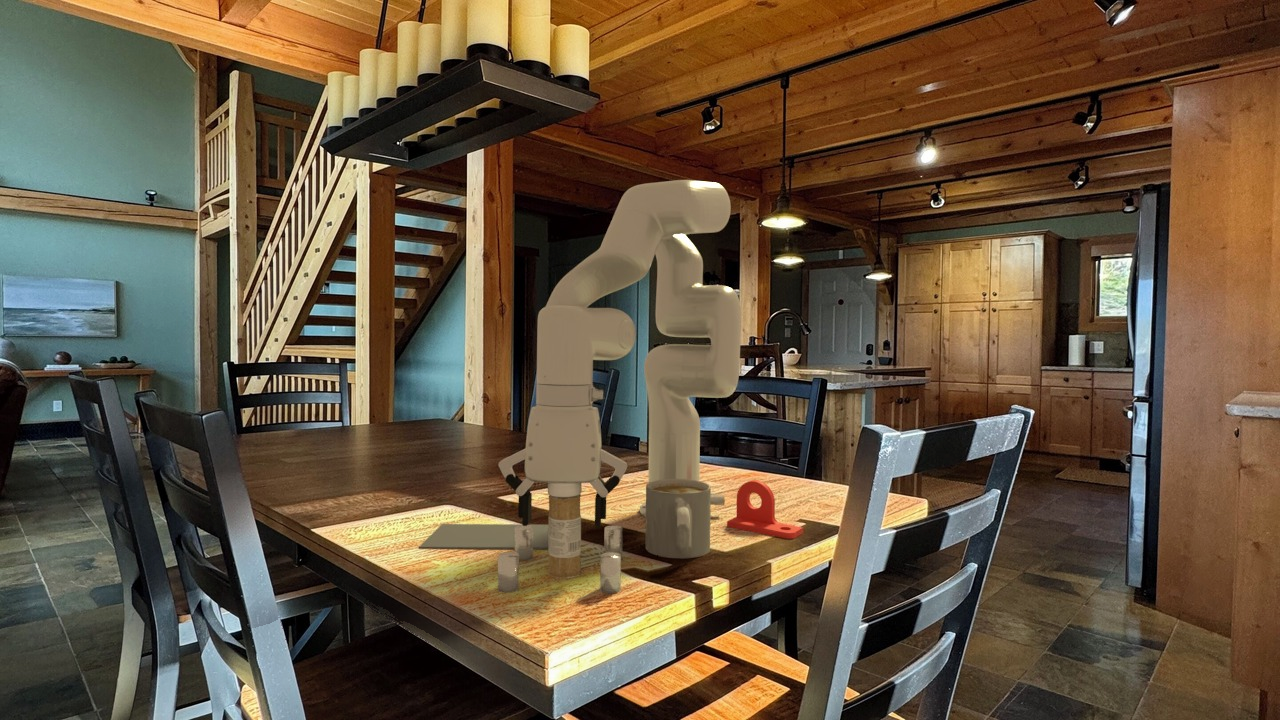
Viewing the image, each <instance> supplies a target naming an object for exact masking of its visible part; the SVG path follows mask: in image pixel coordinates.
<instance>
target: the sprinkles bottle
mask: <svg viewBox="0 0 1280 720" xmlns="http://www.w3.org/2000/svg"><path fill="white" fill-rule="evenodd" d="M547 494H548V517H547V518H548V524H547V525H548V550H547V551H548V576H549V577H551V578H554V579H572V578H576V577H578V576H580V575H581V573H582V571H581V553H582V549H581V548H582V541H581V540H582V515H581V496H582V495H581V494H582V483H547Z"/></svg>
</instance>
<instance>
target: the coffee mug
mask: <svg viewBox="0 0 1280 720" xmlns="http://www.w3.org/2000/svg"><path fill="white" fill-rule="evenodd" d="M645 485H646V487H645V503H646V517H645V550H646V551H647V552H648V553H650V554H652V555H655V556H657V555H658V557H662V558H667V559H668V558H669V559H693V558H700V557H702V556H705V555H707V554H709V552H710V551H711V507H712V506H711V493H712V492H711V490H712V489H711V488H712V487H711V485H710V484H709V483H707V482H705V481H700V480H699V481H696V480H689V479H662V480H656V481H652V482H649V481H648V482H647V484H645Z"/></svg>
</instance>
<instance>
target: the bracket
mask: <svg viewBox="0 0 1280 720" xmlns="http://www.w3.org/2000/svg"><path fill="white" fill-rule="evenodd" d="M751 494H757V495H758V496H759V498H760V501H761V502H760V503H761V505H760V506H759V507H755V506H754V505H753V504H752V503H751V500H750V498H751ZM775 499H776V498H775V494H774V493H773V491H772V489H771V488H770V487H769V485H767V484H766V483H764V482H763V481H761V480H755V479H753V480H749V481H747V482H745V483H743V484H742V485H740V487H739V488H738V491H737V494H736V516H735V517H733V518H731V519H729V520H727V521H726V527H727V528H732V529H736V528H737V530H742V531H746V532H747V531H748V532H751V531H752V532H753V533H756V532H757V534H763V535H767V536H772V537H777V538H782V539H787V540H788V539H789V540H792V539H793V540H794V539H795V538H798V537H799V536H801V535H803V534H804V527H802V526H798V525H792V524H786V523H781V522H778V521H777V520H776V517H775V516H776V515H775V513H776V511H775V510H776V508H775V507H776V506H775V504H776V500H775Z"/></svg>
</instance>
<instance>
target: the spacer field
mask: <svg viewBox="0 0 1280 720" xmlns="http://www.w3.org/2000/svg"><path fill="white" fill-rule="evenodd" d="M530 525H531V524H528V525H527V526H523V525H520V526H516V527H515V550H514V551H505V552H501V553H498V555H497V591H498V592H500V593H514V592H516V591H518V590H519V588H520V587H519V582H520V581H519V575H520V574H519V569H520V567H519V563H520V562H528V561H531V560H533V559H534V550H533V526H530ZM603 536H604V537H603V538H604V544H603V545H604V552H603V553H601V554H600V565H599V566H600V570H599V573H600V577H599V578H600V579H599V580H600V583H599V588H600V590H599V591H600V592H601V593H604V594H616V593H617V594H618V593H619V592H621V589H622V588H621V587H622V585H621V584H622V581H621V580H622V579H621V576H622V561H623V527H622V526H620V525H607V526H605V527H604V535H603Z"/></svg>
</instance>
